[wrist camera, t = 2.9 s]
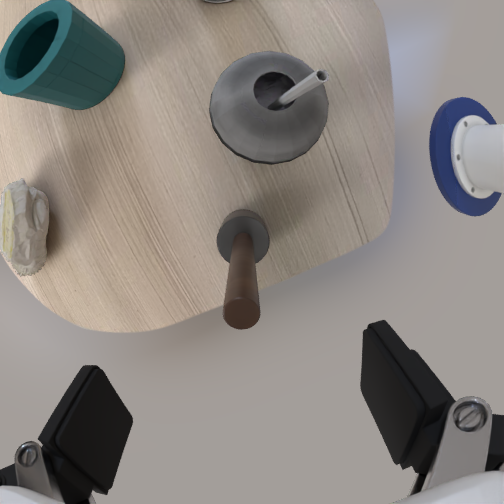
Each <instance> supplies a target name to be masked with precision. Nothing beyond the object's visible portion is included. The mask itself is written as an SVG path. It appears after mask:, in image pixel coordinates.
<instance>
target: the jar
mask: <svg viewBox="0 0 504 504" xmlns="http://www.w3.org/2000/svg"><path fill="white" fill-rule="evenodd" d="M124 64H125V56H124V52H123V49H122V47H121V46H120V45H119V43H118V42H117V41H116V40H114V39H113V38H112V37H111V36H110V35H109V34H108V33H106V32H105V31H104V30H103V29H102V28H100V27H99V26H98V25H97V24H96V23H94V22H93V21H92V20H91V19H90V18H88V17H87V16H86V15H85V14H83V13H82V12H81V11H80V10H79V9H77V8H76V7H75V6H73V5H72V4H71V3H70V2H68V1H66V0H50V1H48V2H45V3H43V4H41V5H39V6H38V7H36V8H35V9H34V10H32V11H31V12H30V13H28V14H27V15H26V16H25V17H24V18H23V19H22V20H21V21H20V22H19V23H18V24H17V26H16V27H15V28H14V30H13V31H12V33H11V34H10V35H9V37H8V39H7V41H6V43H5V45H4V47H3V49H2V51H1V53H0V91H1V92H2V94H6V95H10V96H16V97H21V98H26V99H31V100H36V101H41V102H45V103H50V104H54V105H58V106H62V107H66V108H70V109H75V110H83V109H87V108H90V107H93V106H95V105H97V104H98V103H100V102H101V101H102V100H104V99H105V98H106V97H107V96H108V95H109V94H110V93H111V92H112V91H113V89H114V88H115V86H116V85H117V83H118V82H119V80H120V78H121V75H122V73H123V69H124Z"/></svg>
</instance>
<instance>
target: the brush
mask: <svg viewBox="0 0 504 504" xmlns="http://www.w3.org/2000/svg"><path fill="white" fill-rule="evenodd" d="M217 247H218V250H219V252H220V254H221V256H222V257H223V258H224V259H225V260H226V261H227V262H229V263H230V265H229V272H228V279H227V286H226V293H225V299H224V307H223V317H224V320H225V321H226V323H227V324H228V325H230V326H231V327H233V328H236V329H248V328H250V327H252V326H254V325H255V324H256V323H257V322H258V320H259V318H260V306H259V295H258V285H257V275H256V266H255V264H256V263H258V262H259V261H260V260H261V259H262V258H263V257H264V256H265V255H266V253H267V251H268V248H269V235H268V232H267V229H266V226H265V223H264V221H263V220H262V218H261V217H260V216H259V215H258V214H256V213H255V212H252V211H250V210H237V211H234V212H232V213H230V214H229V215H228V216H227V217H226V218H225V219H224V221H223V223H222V225H221V228H220V230H219V233H218V236H217Z"/></svg>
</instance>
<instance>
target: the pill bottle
mask: <svg viewBox="0 0 504 504" xmlns="http://www.w3.org/2000/svg"><path fill="white" fill-rule="evenodd" d="M204 1H207V2H214V3H221V2H227V1H231V0H204Z"/></svg>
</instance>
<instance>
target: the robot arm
mask: <svg viewBox="0 0 504 504" xmlns="http://www.w3.org/2000/svg"><path fill="white" fill-rule="evenodd" d="M451 160H452V165H453V169H454V172H455V176H456V178H457V180H458V182H459V184H460V185H461V187H462V189H463V190H464V191H465V192H466V193H467V194H469V195H470V196H472V197H475V198H480V199H482V198H487V197H488V196H490V195H491V194H492V193H493V192H494V191H495V192H500V193H504V124H496V125H489V124H488V123H487V122H486V121H485V120H484V119H482V118H481V117H479V116H475V115H470V116H465V117H463V118H461V119H460V120H459V121H458V122H457V124H456V126H455V128H454V130H453V133H452V138H451ZM360 386H361V391H362V394H363V396H364V399H365V401H366V403H367V405H368V407H369V409H370V411H371V413H372V415H373V418H374V419H375V422H376V424H377V426H378V428H379V431H380V433H381V435H382V437H383V439H384V442H385V444H386V446H387V448H388V450H389V453H390V455H391V457H392V459H393V462H394V463H395V464H396V465H397V464H400V465H401V467H402V469H405V468H408V467H410V466H412V467H413V469H414V471H415V472H416V473H417V475H416V477H415V480H414V482H413V485H412V487H411V490H410V492H409V494H408V496H407V498H404V499H401V500H399V501H396V502H393V503H391V504H504V415H496V414H492V410H491V408H490V406H489V404H488V403H486V401H485V400H483V399H481V398H478V397H474V396H470V397H464V398H461V399H459V400H458V401H455V400H454V399H453V397H452V396H451V394H450V393H449V392H448V390H447V389H446V388H445V387H444V385H443V384H442V383H441V382H440V380H439V379H438V378H437V377H436V375H435V374H434V373H433V372H432V370H431V369H430V368H429V366H428V365H427V364H426V363H425V361H424V360H423V359H422V358H421V357H420V355H419V354H418V353H417V352H416V351H415V350H410V349H409V348H408V347H407V346H406V345H405V343H404V342H403V341H402V340H401V338H400V337H399V336H398V335H397V334H396V332H395V331H394V330H393V329H392V328H391V326H390V325H389V324H388V323H387V322H386V321H385V320H382V321H378V322H375V323H371V324H369V325H368V327H367V329H366V330H364V331H363V348H362V369H361V385H360ZM132 423H133V418H132V416H131V414H130V412H129V411H128V410H127V408H126V407H125V405H124V403H123V402H122V400H121V399H120V397H119V396H118V394H117V393H116V391H115V389H114V388H113V386H112V385H111V383H110V381H109V380H108V378H107V376H106V374H105V373H104V371H103V370H102V369H100V368H99V367H98V366H96V365H85V366H83V367H82V368H81V369H80V371H79V373H78V374H77V375H76V377H75V378H74V380H73V382H72V383H71V385H70V386H69V388H68V389H67V391H66V392H65V394H64V396H63V397H62V399H61V401H60V402H59V404H58V405H57V407H56V409H55V410H54V412H53V413H52V415H51V417H50V419H49V420H48V422H47V424H46V425H45V427H44V429H43V431H42V433H41V434H40V436H39V438H38V440H39V441H40V442H41V443H42V444H43V446H42V447H41V446H40V445H39V444H38V443H36V442H33V441H29V442H26V443H24V444H22V445H21V446H20V447H19V448H18V449H17V451H16V454H15V463H14V464H12V465H10V466H8V467H5V468H3V469H1V470H0V504H96V502H95V500H94V498H93V496H92V494H91V493H92V490H94V491H95V492H97V493H100V494H105V495H107V494H108V490H109V489H111V488H112V485H113V482H114V478H115V476H116V472H117V469H118V466H119V463H120V459H121V456H122V453H123V450H124V447H125V444H126V441H127V438H128V435H129V433H130V430H131V427H132Z"/></svg>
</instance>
